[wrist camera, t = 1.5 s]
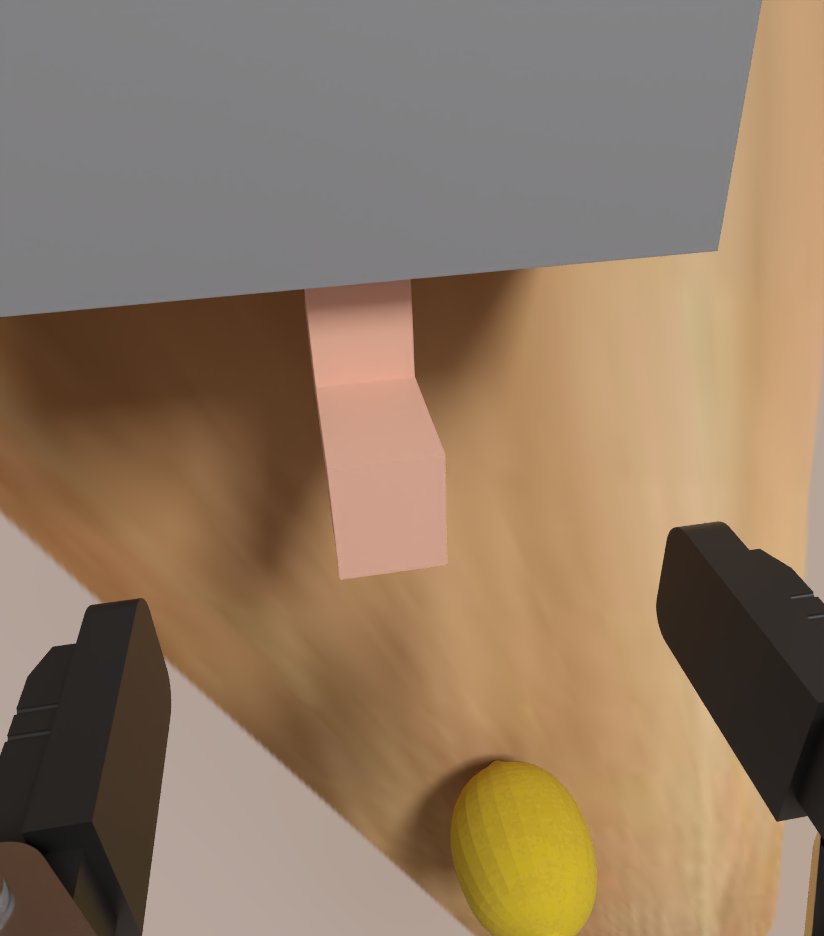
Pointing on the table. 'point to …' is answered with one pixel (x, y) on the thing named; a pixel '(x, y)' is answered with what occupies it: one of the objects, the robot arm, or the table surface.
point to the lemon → (523, 852)
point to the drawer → (376, 430)
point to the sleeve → (355, 141)
